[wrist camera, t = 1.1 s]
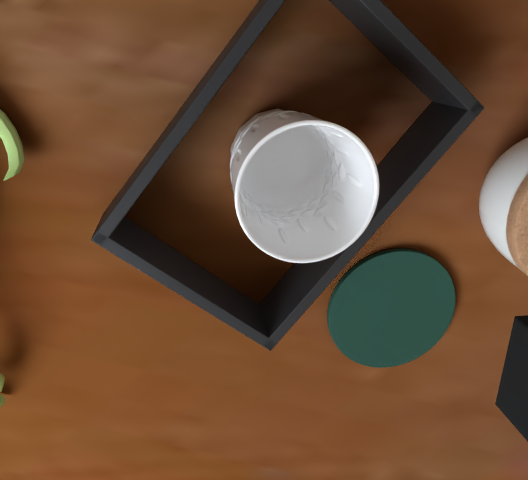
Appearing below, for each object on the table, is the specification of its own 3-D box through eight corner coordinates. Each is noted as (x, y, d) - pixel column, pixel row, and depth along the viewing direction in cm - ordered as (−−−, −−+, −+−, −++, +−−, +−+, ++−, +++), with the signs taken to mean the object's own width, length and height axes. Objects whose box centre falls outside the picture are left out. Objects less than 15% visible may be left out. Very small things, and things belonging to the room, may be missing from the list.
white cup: (201, 132, 34) (207, 164, 25) (303, 79, 34) (348, 92, 25) (251, 226, 37) (273, 286, 28) (345, 179, 37) (399, 223, 28)
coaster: (390, 222, 39) (393, 224, 38) (477, 293, 43) (481, 297, 42) (300, 323, 41) (301, 327, 41) (390, 383, 45) (393, 387, 44)
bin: (296, -51, 31) (316, -67, 27) (446, 99, 36) (485, 107, 31) (102, 214, 35) (90, 240, 31) (260, 316, 40) (270, 351, 36)
